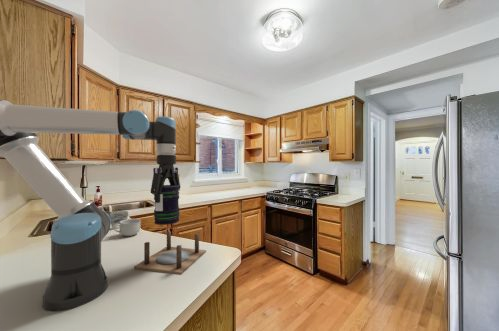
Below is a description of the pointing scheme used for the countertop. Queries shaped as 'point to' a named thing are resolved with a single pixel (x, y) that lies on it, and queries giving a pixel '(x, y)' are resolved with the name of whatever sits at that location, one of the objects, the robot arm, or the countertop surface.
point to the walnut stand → (170, 257)
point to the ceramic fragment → (118, 217)
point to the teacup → (129, 227)
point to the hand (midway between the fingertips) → (167, 207)
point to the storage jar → (168, 206)
